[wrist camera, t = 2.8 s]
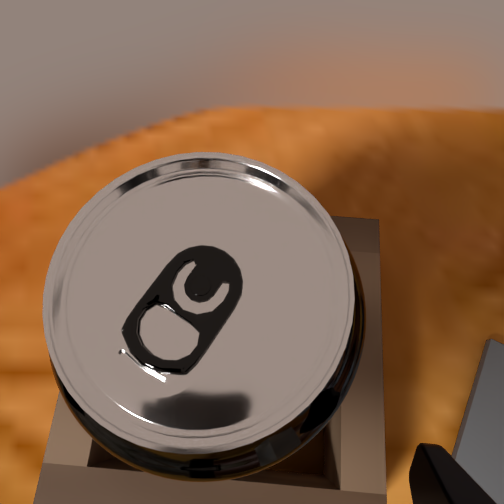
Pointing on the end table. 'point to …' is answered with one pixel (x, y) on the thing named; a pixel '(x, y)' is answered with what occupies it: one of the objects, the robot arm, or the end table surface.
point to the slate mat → (485, 425)
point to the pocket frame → (266, 481)
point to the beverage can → (203, 317)
